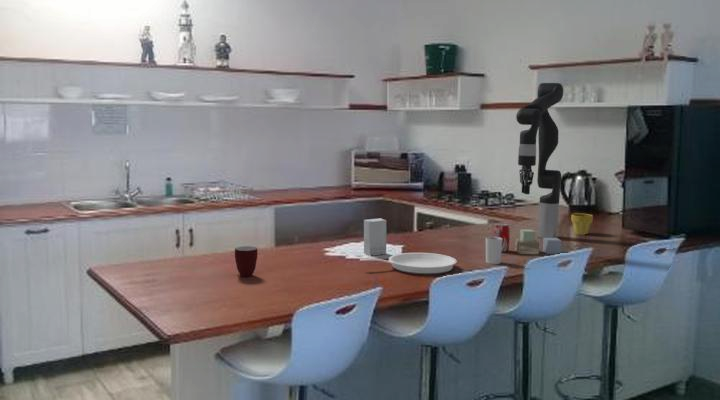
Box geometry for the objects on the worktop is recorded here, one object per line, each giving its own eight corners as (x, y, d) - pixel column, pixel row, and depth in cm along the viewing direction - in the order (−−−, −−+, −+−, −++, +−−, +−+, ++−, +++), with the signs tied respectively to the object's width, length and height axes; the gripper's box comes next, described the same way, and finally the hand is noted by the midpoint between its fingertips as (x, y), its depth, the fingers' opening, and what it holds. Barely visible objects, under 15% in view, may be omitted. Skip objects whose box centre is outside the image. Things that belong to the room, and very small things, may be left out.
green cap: (519, 240, 290) (520, 229, 289) (531, 240, 290) (531, 229, 289) (523, 242, 285) (523, 231, 284) (534, 242, 285) (535, 231, 284)
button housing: (515, 250, 292) (515, 239, 291) (533, 250, 292) (533, 239, 291) (520, 253, 284) (520, 242, 283) (538, 254, 284) (539, 242, 283)
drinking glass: (498, 265, 262) (499, 240, 260) (482, 262, 265) (483, 238, 264) (503, 262, 267) (504, 237, 266) (488, 260, 271) (489, 236, 269)
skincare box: (380, 252, 283) (380, 217, 282) (386, 254, 278) (387, 220, 276) (362, 253, 280) (363, 219, 278) (369, 256, 274) (369, 221, 273)
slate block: (542, 251, 291) (543, 237, 290) (556, 251, 291) (556, 237, 291) (547, 253, 285) (547, 240, 284) (560, 254, 285) (561, 240, 285)
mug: (226, 274, 240) (225, 247, 238) (243, 270, 246) (243, 244, 244) (244, 279, 233) (244, 251, 231) (262, 275, 239) (262, 248, 238)
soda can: (509, 253, 285) (510, 225, 284) (492, 252, 287) (493, 225, 285) (508, 249, 292) (509, 223, 291) (492, 249, 293) (493, 222, 292)
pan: (468, 274, 247) (468, 261, 246) (369, 280, 236) (370, 267, 235) (440, 259, 272) (440, 248, 271) (350, 264, 261) (350, 252, 260)
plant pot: (591, 236, 330) (592, 216, 328) (570, 234, 333) (571, 215, 332) (591, 232, 339) (593, 214, 338) (570, 231, 343) (571, 212, 342)
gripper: (540, 155, 282) (538, 195, 284) (530, 153, 296) (529, 191, 298) (523, 155, 281) (521, 195, 283) (514, 153, 295) (512, 191, 297)
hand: (525, 193), depth 291 cm, fingers open, 3 cm apart
